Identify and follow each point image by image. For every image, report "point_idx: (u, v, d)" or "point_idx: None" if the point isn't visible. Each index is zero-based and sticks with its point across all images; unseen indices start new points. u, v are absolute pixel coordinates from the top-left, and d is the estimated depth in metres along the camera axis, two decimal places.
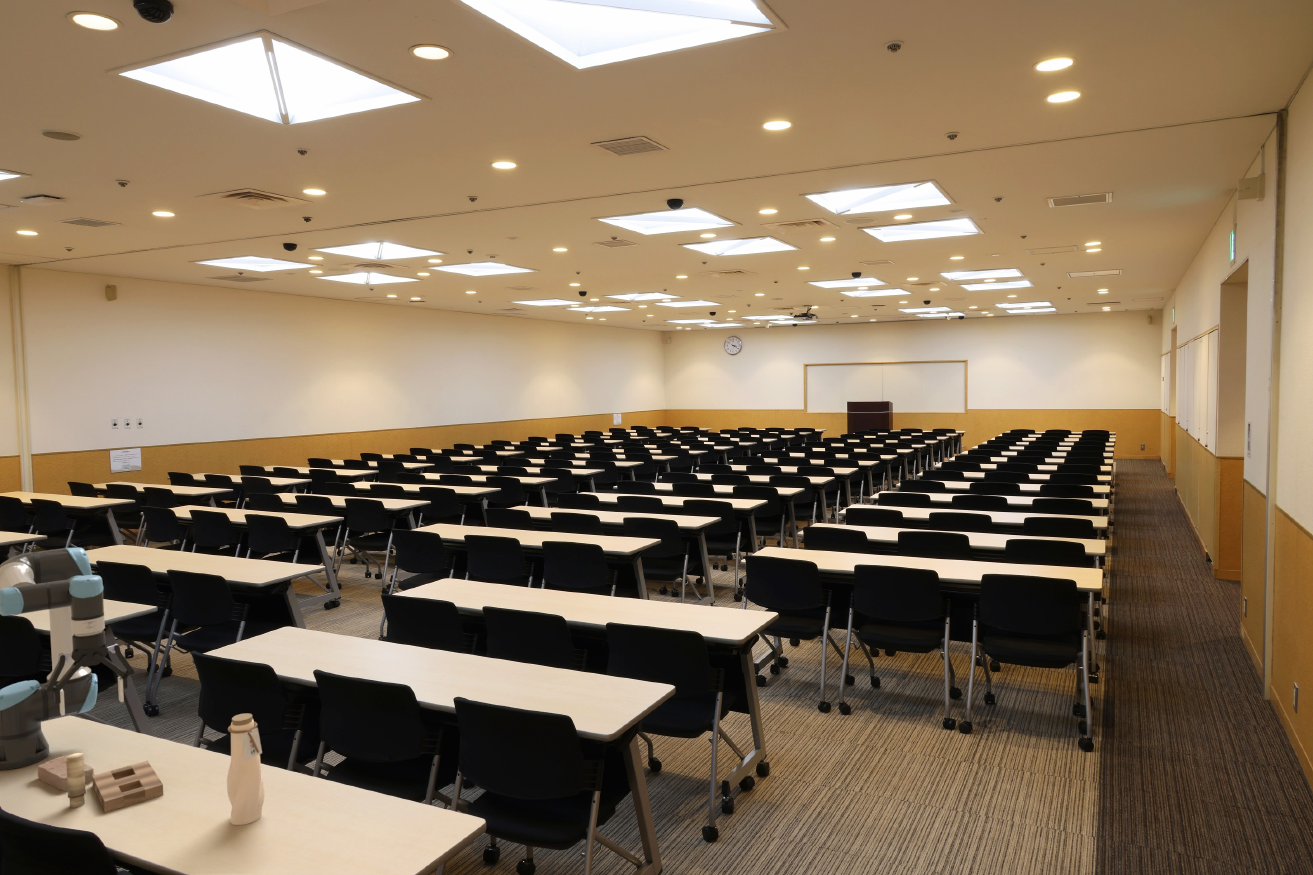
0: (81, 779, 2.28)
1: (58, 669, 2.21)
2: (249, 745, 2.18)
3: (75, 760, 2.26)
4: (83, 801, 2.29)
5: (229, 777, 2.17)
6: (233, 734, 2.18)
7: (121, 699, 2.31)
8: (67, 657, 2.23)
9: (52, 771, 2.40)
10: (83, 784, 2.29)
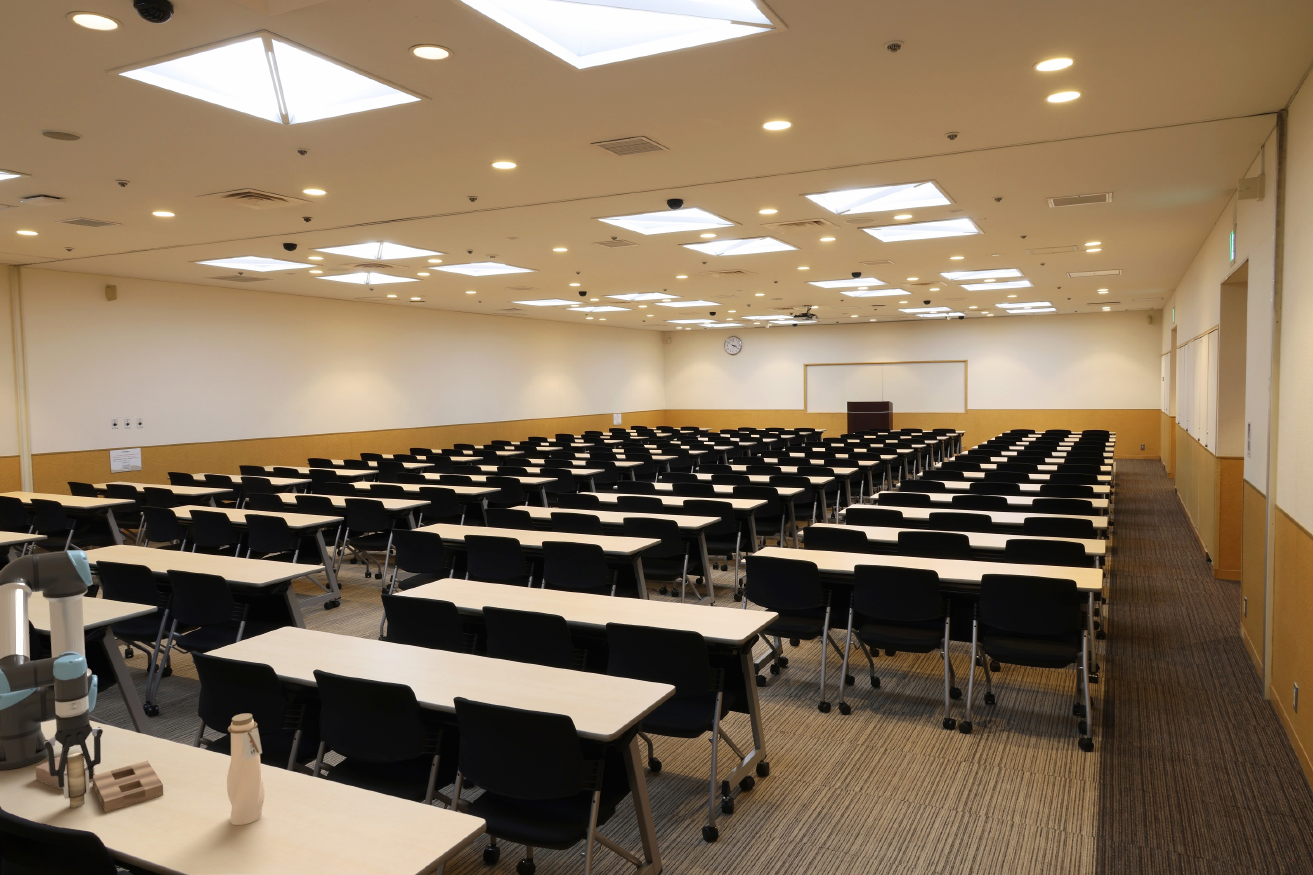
0: (81, 779, 2.28)
1: (50, 755, 2.23)
2: (249, 745, 2.18)
3: (75, 760, 2.26)
4: (83, 801, 2.29)
5: (229, 777, 2.17)
6: (233, 734, 2.18)
7: (87, 790, 2.29)
8: (52, 741, 2.24)
9: None
10: (83, 784, 2.28)
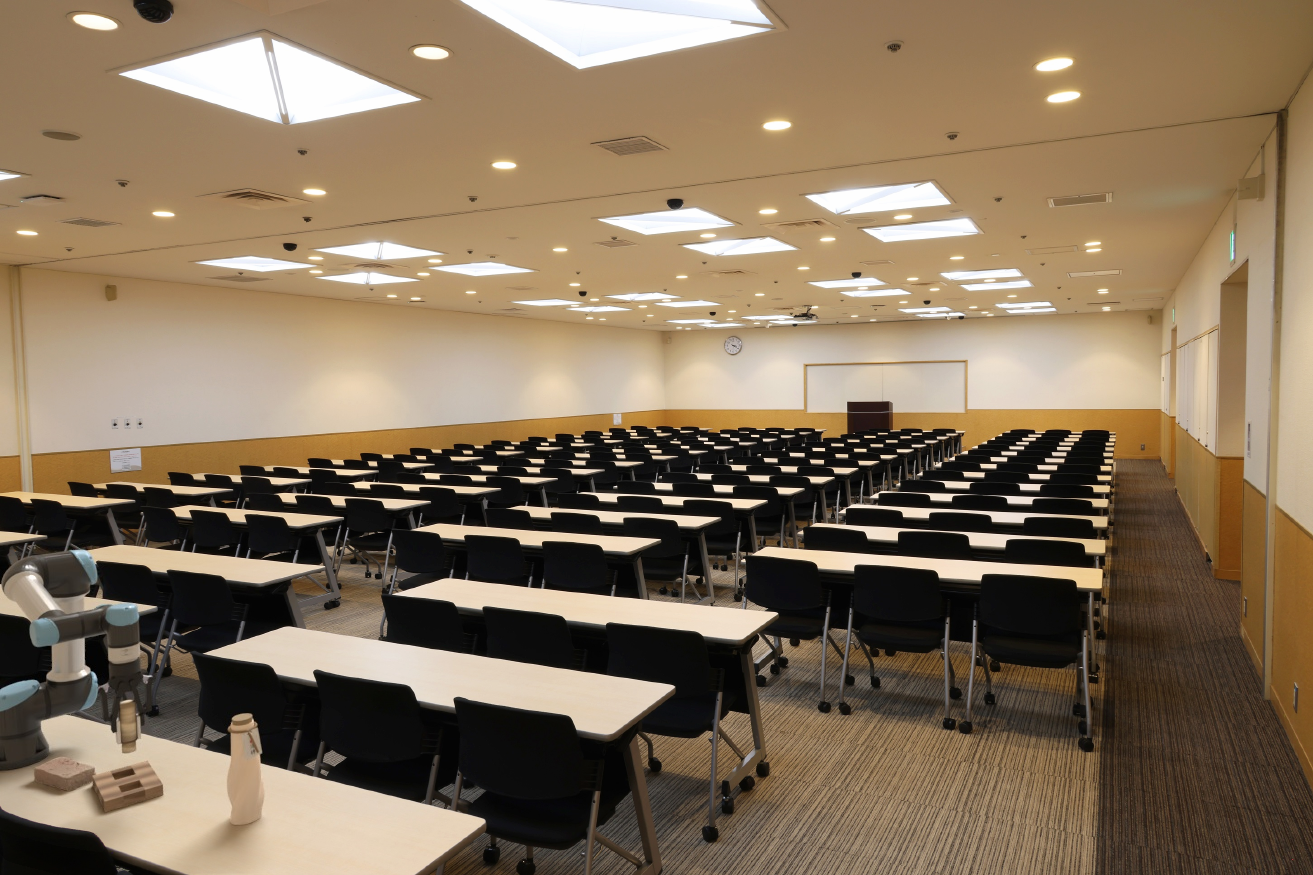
0: (133, 725, 2.31)
1: (103, 700, 2.27)
2: (249, 745, 2.18)
3: (127, 706, 2.30)
4: (135, 747, 2.32)
5: (229, 777, 2.17)
6: (233, 734, 2.18)
7: (138, 736, 2.33)
8: (105, 687, 2.27)
9: (51, 772, 2.40)
10: (135, 730, 2.32)
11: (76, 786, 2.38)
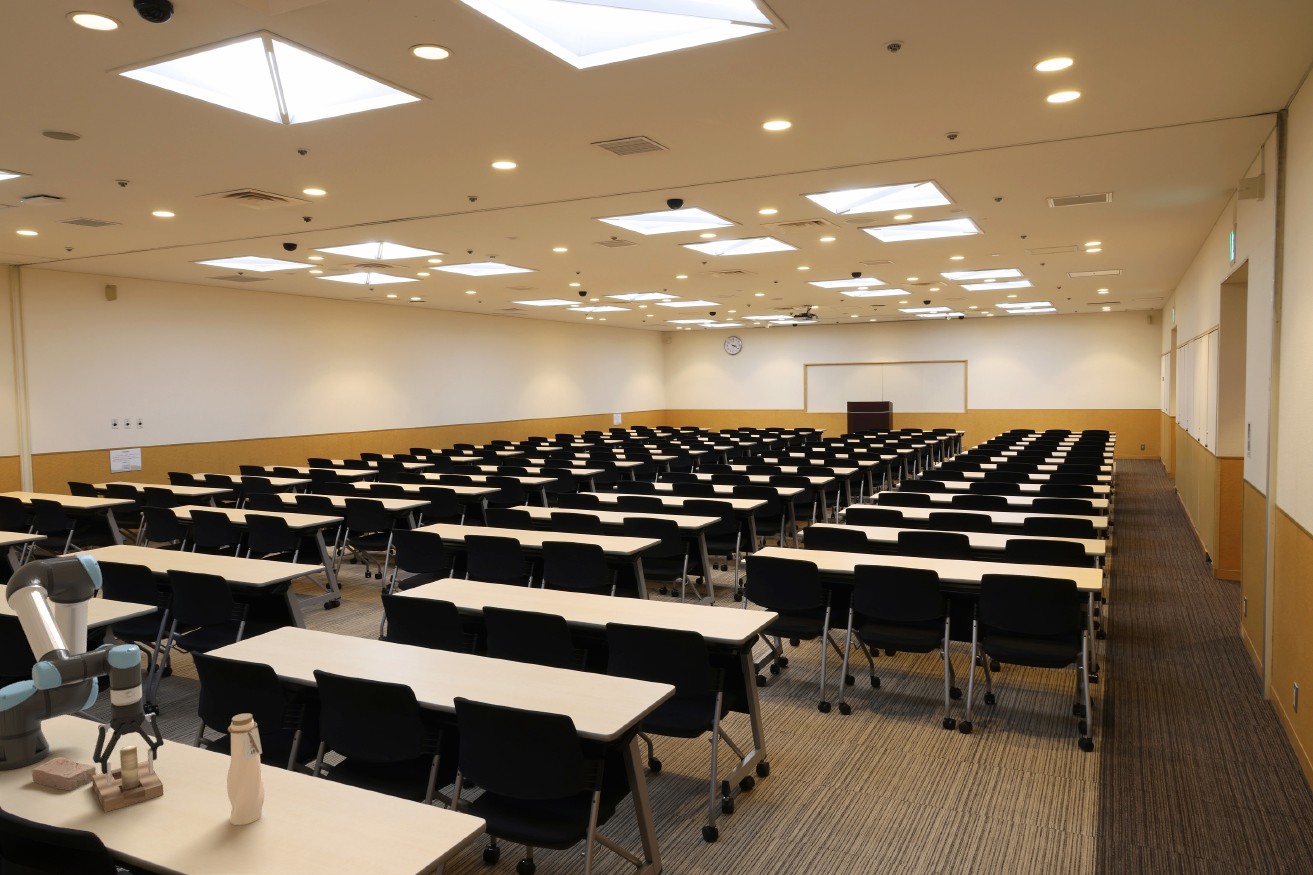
0: (135, 771, 2.32)
1: (100, 740, 2.27)
2: (249, 745, 2.18)
3: (129, 752, 2.31)
4: None
5: (229, 777, 2.17)
6: (233, 734, 2.18)
7: (151, 770, 2.35)
8: (106, 727, 2.28)
9: (51, 772, 2.40)
10: (136, 776, 2.33)
11: (78, 786, 2.39)
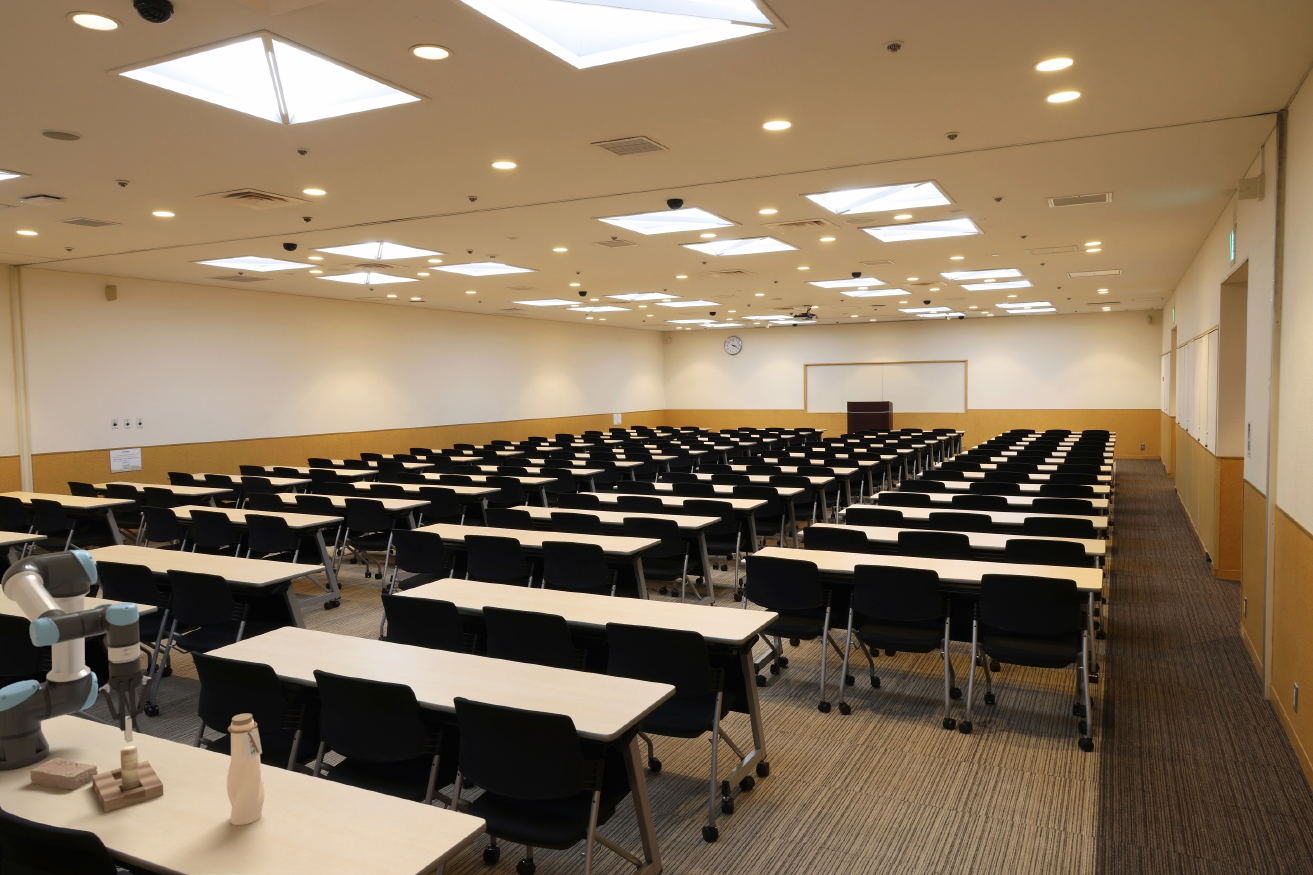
0: (135, 771, 2.32)
1: (108, 700, 2.27)
2: (249, 745, 2.18)
3: (129, 752, 2.31)
4: None
5: (229, 777, 2.17)
6: (233, 734, 2.18)
7: (130, 738, 2.31)
8: (106, 688, 2.28)
9: (52, 773, 2.39)
10: (137, 776, 2.33)
11: (80, 785, 2.39)
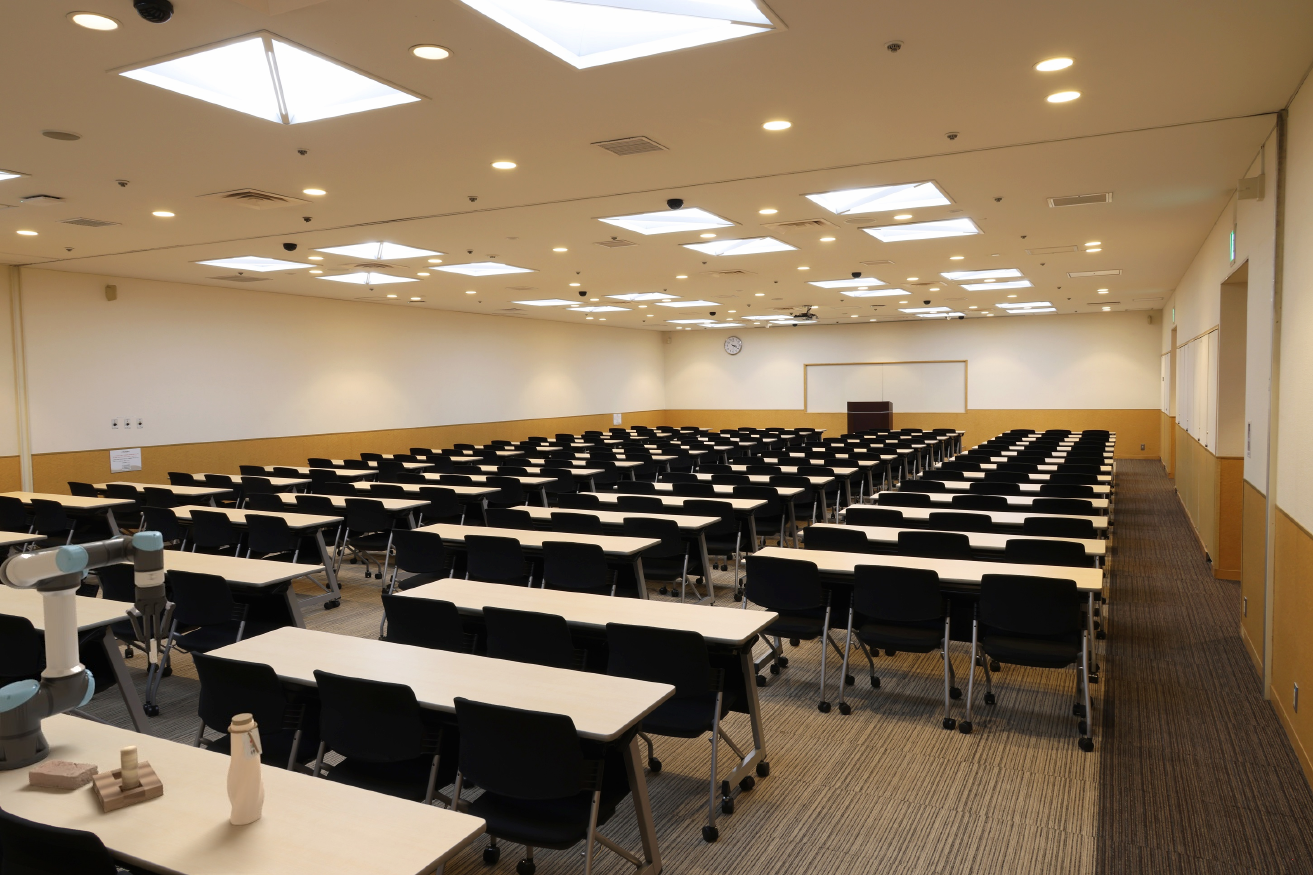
0: (135, 771, 2.32)
1: (134, 622, 2.40)
2: (249, 745, 2.18)
3: (129, 752, 2.31)
4: None
5: (229, 777, 2.17)
6: (233, 734, 2.18)
7: (155, 659, 2.44)
8: (133, 610, 2.41)
9: (52, 773, 2.39)
10: (137, 776, 2.33)
11: (82, 784, 2.39)
